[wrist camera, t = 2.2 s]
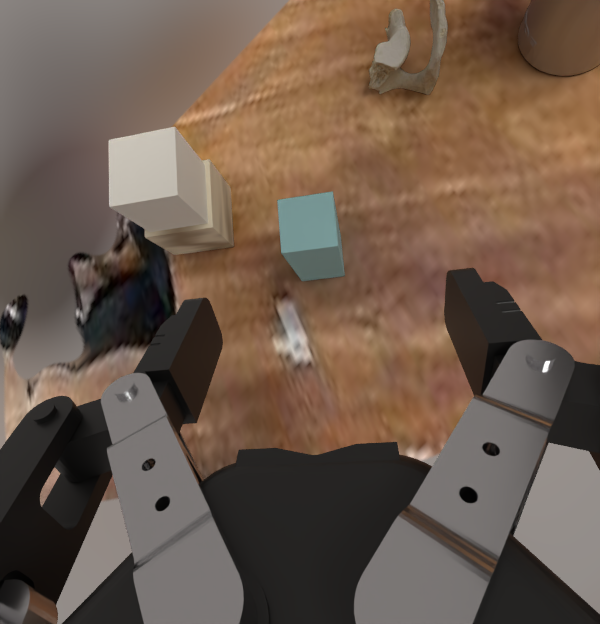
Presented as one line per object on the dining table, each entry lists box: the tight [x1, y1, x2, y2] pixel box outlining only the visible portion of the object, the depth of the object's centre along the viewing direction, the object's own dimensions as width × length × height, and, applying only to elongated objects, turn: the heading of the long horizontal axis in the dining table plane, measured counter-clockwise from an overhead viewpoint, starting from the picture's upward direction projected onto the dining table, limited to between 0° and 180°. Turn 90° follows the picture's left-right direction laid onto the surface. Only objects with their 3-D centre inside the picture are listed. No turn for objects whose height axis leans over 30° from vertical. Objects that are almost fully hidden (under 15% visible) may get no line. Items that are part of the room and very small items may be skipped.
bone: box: [369, 0, 448, 95], centre depth 37 cm, size 9×6×10 cm
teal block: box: [277, 192, 345, 281], centre depth 35 cm, size 4×4×10 cm
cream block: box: [109, 127, 208, 232], centre depth 34 cm, size 6×6×6 cm
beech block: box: [145, 159, 234, 255], centre depth 40 cm, size 7×7×6 cm
